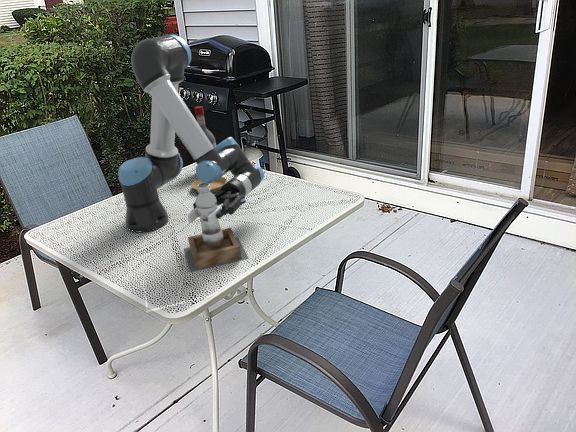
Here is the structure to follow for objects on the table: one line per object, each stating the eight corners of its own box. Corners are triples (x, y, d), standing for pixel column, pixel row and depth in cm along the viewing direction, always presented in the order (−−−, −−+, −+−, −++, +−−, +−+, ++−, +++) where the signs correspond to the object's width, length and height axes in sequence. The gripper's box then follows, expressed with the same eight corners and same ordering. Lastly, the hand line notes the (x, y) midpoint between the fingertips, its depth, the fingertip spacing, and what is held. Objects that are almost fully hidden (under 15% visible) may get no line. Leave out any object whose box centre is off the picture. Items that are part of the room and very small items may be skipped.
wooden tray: (196, 269, 148) (193, 257, 146) (190, 248, 160) (187, 237, 158) (241, 258, 151) (239, 246, 149) (232, 239, 163) (230, 227, 161)
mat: (190, 273, 146) (189, 272, 146) (183, 249, 160) (183, 248, 160) (249, 259, 151) (248, 258, 151) (237, 237, 165) (237, 236, 165)
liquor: (221, 173, 222) (210, 107, 210) (201, 177, 220) (189, 110, 208) (217, 167, 230) (207, 103, 218) (198, 171, 228) (186, 106, 216)
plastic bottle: (215, 251, 150) (204, 190, 141) (199, 247, 153) (187, 187, 145) (228, 241, 155) (219, 182, 146) (212, 238, 158) (201, 179, 150)
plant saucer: (225, 193, 201) (224, 187, 200) (189, 196, 202) (188, 190, 201) (229, 180, 214) (228, 174, 213) (196, 183, 215) (194, 177, 214)
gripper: (263, 202, 162) (229, 234, 143) (212, 198, 169) (174, 228, 151) (260, 180, 159) (225, 210, 140) (209, 177, 166) (169, 205, 147)
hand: (199, 219), depth 145 cm, fingers closed on plastic bottle, 6 cm apart
